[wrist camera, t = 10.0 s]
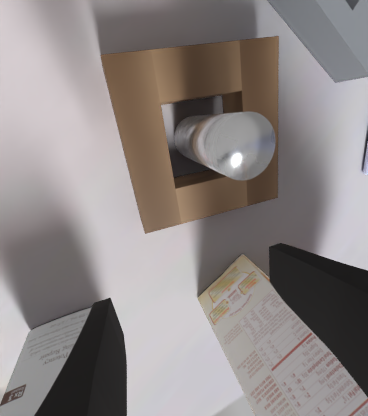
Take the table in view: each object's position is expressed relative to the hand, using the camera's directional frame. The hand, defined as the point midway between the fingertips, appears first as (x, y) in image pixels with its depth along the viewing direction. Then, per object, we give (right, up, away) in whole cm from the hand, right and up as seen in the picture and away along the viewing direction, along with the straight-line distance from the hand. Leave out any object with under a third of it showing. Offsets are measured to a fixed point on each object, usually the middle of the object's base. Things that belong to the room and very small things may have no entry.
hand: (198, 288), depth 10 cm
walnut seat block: (0, +9, +8) cm, 12 cm away
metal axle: (0, +9, +8) cm, 12 cm away
